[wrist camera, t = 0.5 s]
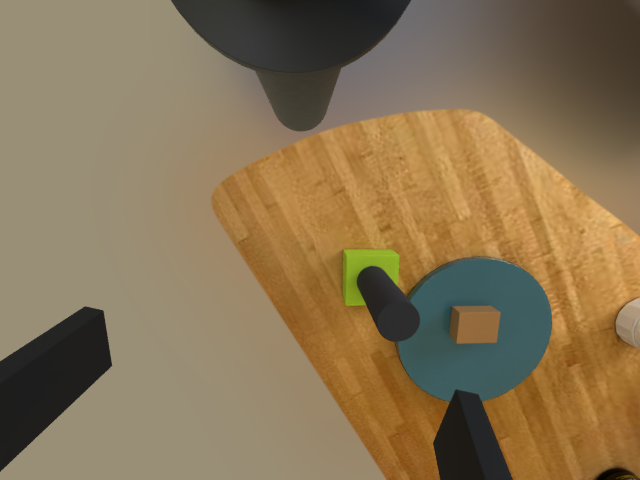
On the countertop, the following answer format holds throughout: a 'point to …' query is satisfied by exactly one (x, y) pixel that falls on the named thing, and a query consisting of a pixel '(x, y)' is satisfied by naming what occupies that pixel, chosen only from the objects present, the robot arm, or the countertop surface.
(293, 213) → the countertop surface
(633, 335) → the white cup
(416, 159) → the countertop surface
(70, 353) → the robot arm
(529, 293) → the plate
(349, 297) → the sponge wand
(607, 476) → the supplement container
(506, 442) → the countertop surface
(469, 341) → the brown rectangular block
